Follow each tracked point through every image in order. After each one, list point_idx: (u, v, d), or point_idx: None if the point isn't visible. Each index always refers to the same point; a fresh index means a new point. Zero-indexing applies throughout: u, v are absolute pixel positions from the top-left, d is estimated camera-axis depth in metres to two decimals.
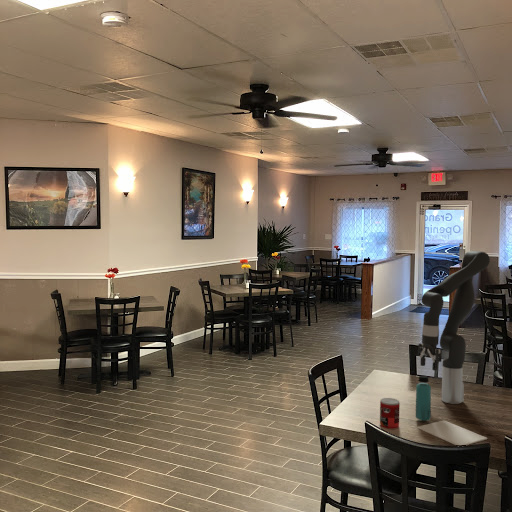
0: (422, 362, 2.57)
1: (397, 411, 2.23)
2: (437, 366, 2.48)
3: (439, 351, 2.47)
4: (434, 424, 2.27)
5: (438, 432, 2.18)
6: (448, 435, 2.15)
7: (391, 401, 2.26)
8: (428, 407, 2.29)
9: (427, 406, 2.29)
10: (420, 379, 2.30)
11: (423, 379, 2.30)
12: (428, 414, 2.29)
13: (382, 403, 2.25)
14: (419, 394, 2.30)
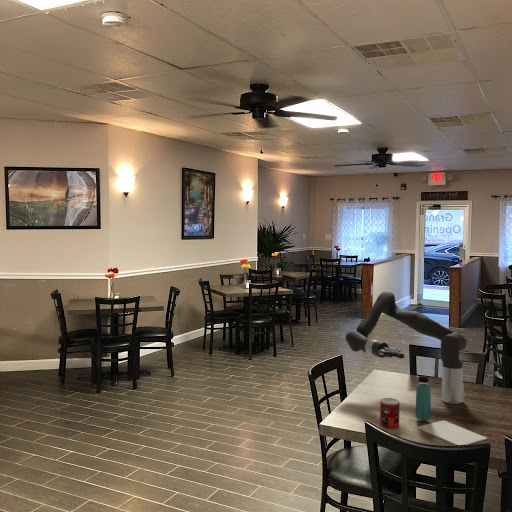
0: None
1: (397, 411, 2.23)
2: None
3: None
4: (434, 424, 2.27)
5: (438, 432, 2.18)
6: (448, 435, 2.15)
7: (391, 401, 2.26)
8: (428, 407, 2.29)
9: (427, 406, 2.29)
10: (420, 379, 2.30)
11: (423, 379, 2.30)
12: (428, 414, 2.29)
13: (382, 403, 2.25)
14: (419, 394, 2.30)
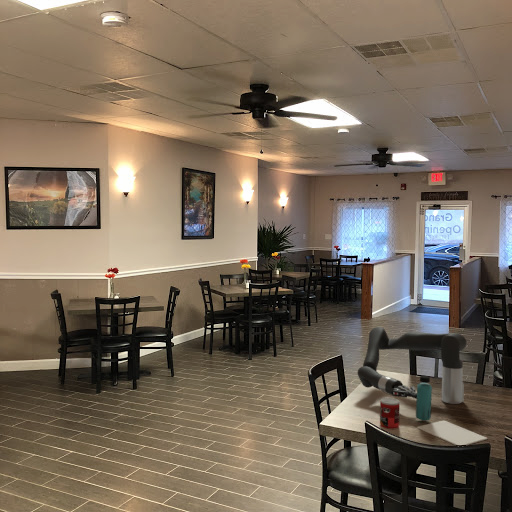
0: None
1: (397, 411, 2.23)
2: None
3: None
4: (434, 424, 2.27)
5: (438, 432, 2.18)
6: (448, 435, 2.15)
7: (391, 401, 2.26)
8: (428, 407, 2.29)
9: (427, 406, 2.29)
10: (421, 379, 2.30)
11: (424, 380, 2.29)
12: (428, 414, 2.29)
13: (382, 403, 2.25)
14: (420, 394, 2.29)
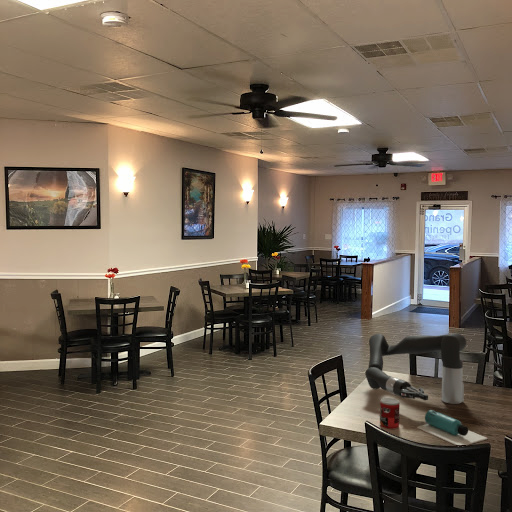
0: None
1: (397, 411, 2.23)
2: None
3: None
4: None
5: (438, 432, 2.18)
6: (448, 435, 2.15)
7: (391, 401, 2.26)
8: None
9: None
10: (460, 432, 2.11)
11: None
12: None
13: (382, 403, 2.25)
14: (446, 430, 2.16)
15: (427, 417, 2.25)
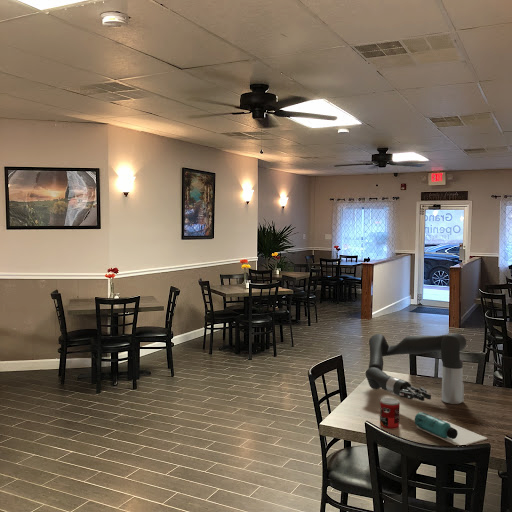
0: None
1: (397, 411, 2.23)
2: None
3: None
4: None
5: None
6: None
7: (391, 401, 2.26)
8: None
9: None
10: None
11: None
12: None
13: (382, 403, 2.25)
14: None
15: None
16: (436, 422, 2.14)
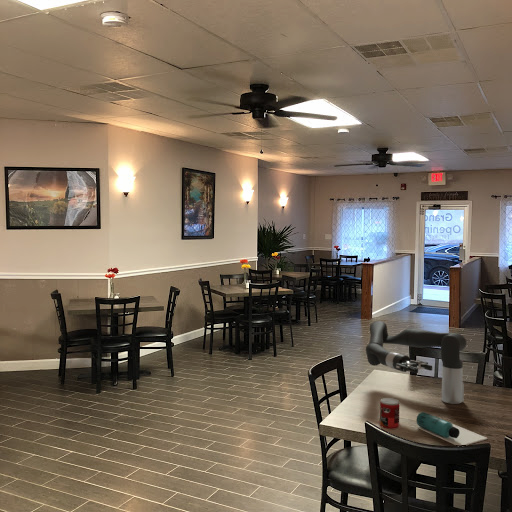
0: None
1: (397, 411, 2.23)
2: None
3: None
4: None
5: None
6: None
7: (391, 401, 2.26)
8: None
9: None
10: None
11: None
12: None
13: (382, 403, 2.25)
14: None
15: None
16: (440, 420, 2.15)
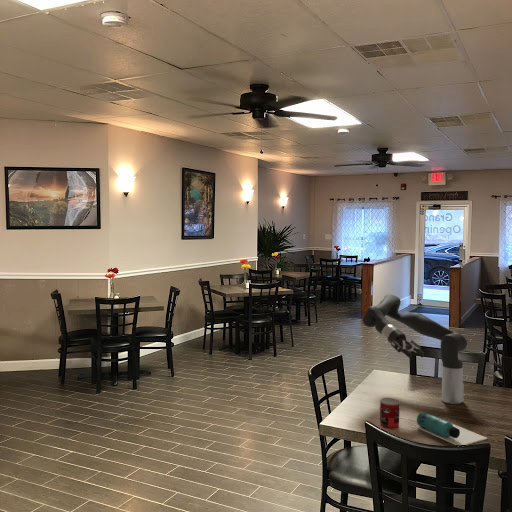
0: None
1: (397, 411, 2.23)
2: None
3: None
4: None
5: None
6: None
7: (391, 401, 2.26)
8: None
9: None
10: None
11: None
12: None
13: (382, 403, 2.25)
14: None
15: None
16: (440, 420, 2.15)
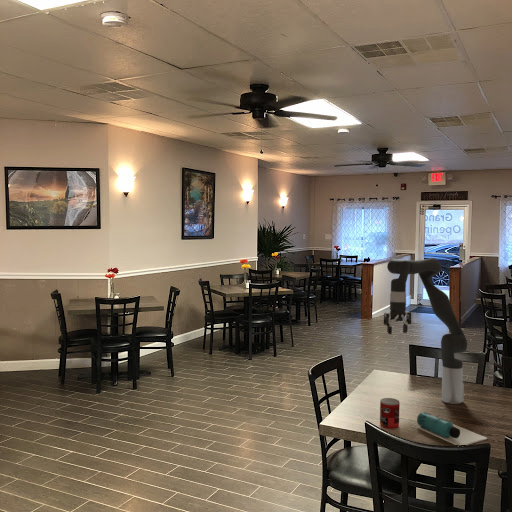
0: None
1: (397, 411, 2.23)
2: None
3: None
4: None
5: None
6: None
7: (391, 401, 2.26)
8: None
9: None
10: None
11: None
12: None
13: (382, 403, 2.25)
14: None
15: None
16: (441, 420, 2.15)
